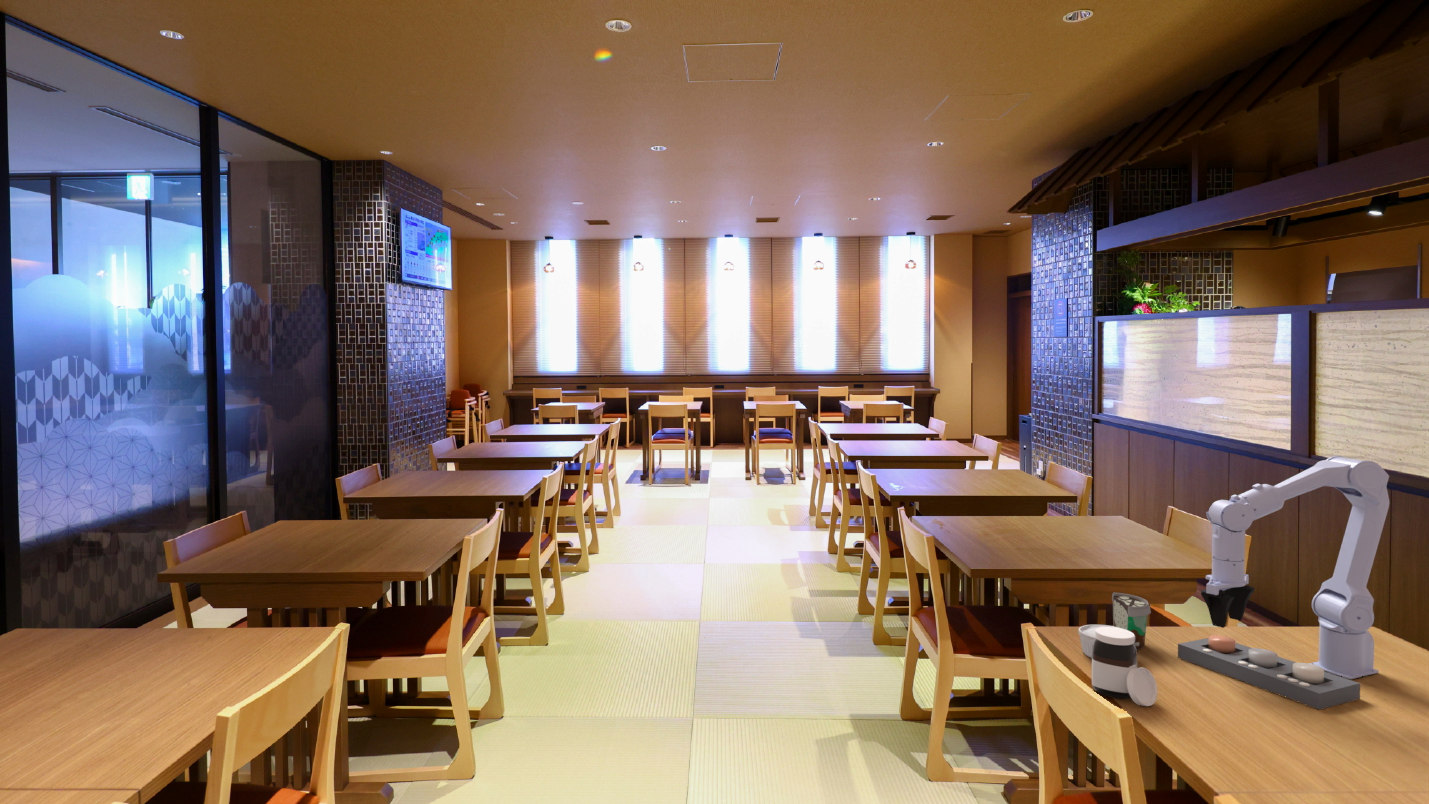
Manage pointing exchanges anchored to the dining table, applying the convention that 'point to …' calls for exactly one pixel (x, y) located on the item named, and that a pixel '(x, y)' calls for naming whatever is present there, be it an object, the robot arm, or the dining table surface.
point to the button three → (1308, 673)
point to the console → (1271, 675)
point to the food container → (1131, 615)
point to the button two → (1262, 657)
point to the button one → (1222, 644)
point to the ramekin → (1089, 637)
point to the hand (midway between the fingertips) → (1227, 622)
